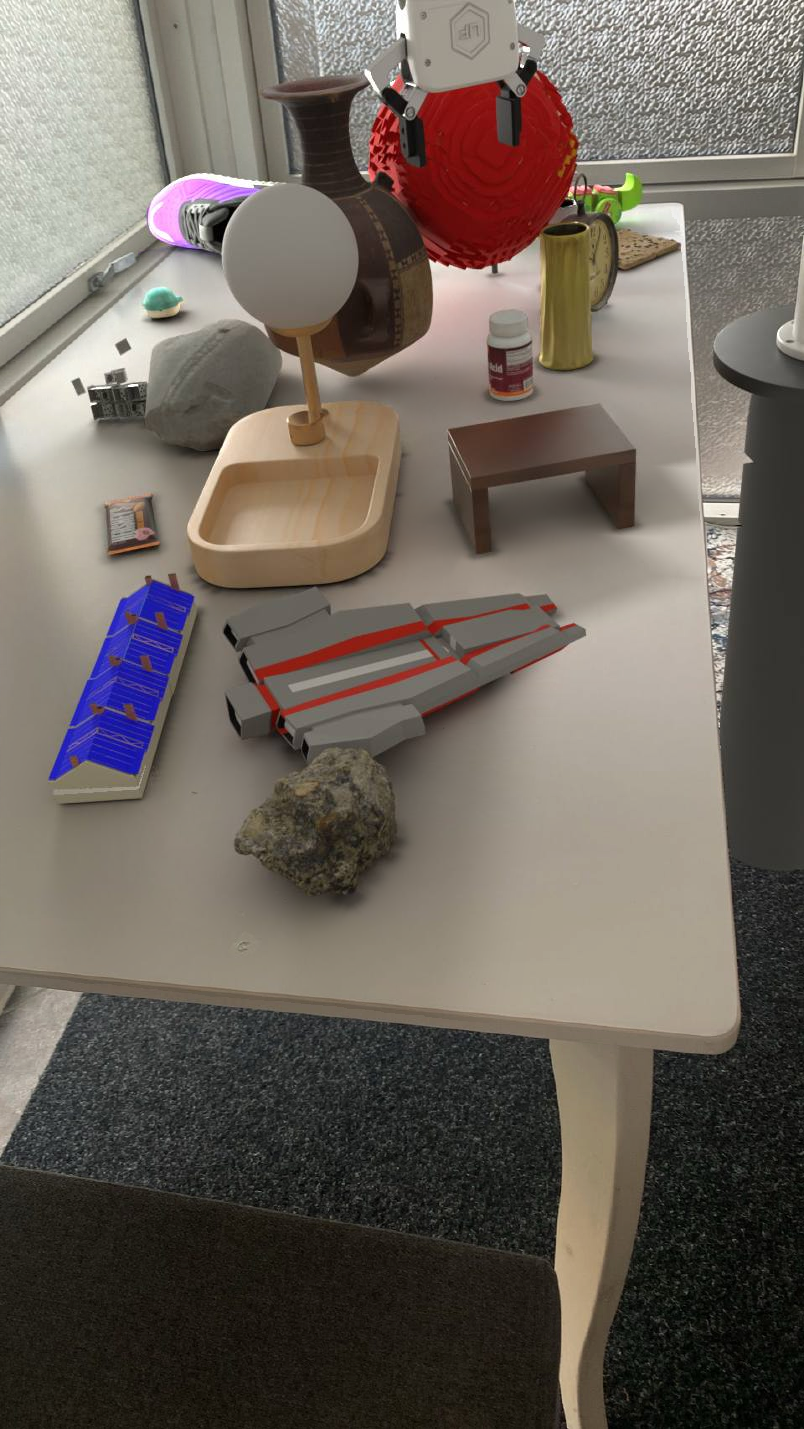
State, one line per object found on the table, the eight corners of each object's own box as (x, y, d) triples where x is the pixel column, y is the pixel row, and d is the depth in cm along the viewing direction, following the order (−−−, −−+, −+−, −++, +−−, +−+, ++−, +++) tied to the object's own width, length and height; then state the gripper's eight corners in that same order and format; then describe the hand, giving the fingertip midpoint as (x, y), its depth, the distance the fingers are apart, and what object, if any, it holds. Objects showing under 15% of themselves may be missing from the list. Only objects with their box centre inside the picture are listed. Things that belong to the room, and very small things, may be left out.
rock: (232, 913, 67) (274, 785, 74) (377, 928, 65) (407, 796, 72) (212, 858, 63) (259, 727, 69) (366, 873, 61) (399, 738, 68)
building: (145, 800, 75) (130, 755, 72) (56, 805, 75) (38, 761, 73) (199, 611, 93) (188, 570, 90) (127, 617, 93) (115, 576, 91)
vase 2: (569, 346, 130) (567, 217, 121) (605, 359, 126) (606, 226, 117) (528, 361, 128) (523, 231, 119) (563, 375, 123) (561, 241, 115)
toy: (580, 129, 141) (650, 103, 114) (482, 300, 148) (526, 313, 120) (424, 18, 135) (459, -38, 107) (330, 202, 142) (339, 193, 114)
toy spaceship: (504, 539, 91) (500, 592, 94) (188, 610, 82) (194, 666, 85) (643, 659, 77) (633, 717, 80) (281, 761, 68) (285, 822, 71)
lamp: (382, 582, 93) (340, 273, 77) (182, 593, 95) (101, 294, 80) (408, 416, 119) (380, 159, 103) (250, 428, 121) (199, 177, 105)
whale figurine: (141, 323, 153) (134, 295, 150) (147, 306, 158) (140, 278, 156) (183, 318, 153) (176, 290, 150) (188, 300, 158) (182, 273, 156)
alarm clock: (581, 334, 132) (580, 188, 122) (540, 329, 135) (536, 185, 125) (621, 303, 139) (623, 162, 129) (581, 299, 141) (581, 160, 131)
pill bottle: (482, 390, 123) (478, 314, 117) (522, 381, 124) (519, 304, 118) (500, 405, 119) (495, 327, 114) (540, 395, 120) (538, 317, 115)
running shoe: (151, 177, 179) (101, 203, 169) (313, 163, 168) (271, 189, 158) (169, 246, 185) (122, 275, 175) (327, 237, 174) (287, 267, 164)
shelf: (599, 476, 104) (599, 402, 100) (634, 526, 96) (636, 449, 92) (453, 501, 103) (446, 428, 99) (476, 554, 95) (470, 477, 91)
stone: (155, 302, 132) (283, 307, 133) (159, 355, 136) (283, 359, 137) (126, 406, 112) (276, 410, 114) (133, 463, 117) (277, 467, 118)
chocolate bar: (161, 548, 102) (159, 540, 102) (108, 559, 101) (105, 551, 101) (153, 495, 111) (151, 488, 110) (104, 505, 110) (102, 498, 109)
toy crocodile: (516, 240, 163) (514, 195, 159) (506, 230, 168) (505, 187, 165) (648, 222, 164) (649, 177, 160) (634, 213, 169) (635, 169, 166)
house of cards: (61, 343, 124) (101, 333, 130) (81, 422, 128) (119, 408, 134) (129, 337, 121) (166, 326, 127) (147, 418, 124) (182, 404, 131)
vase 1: (435, 407, 120) (407, 94, 101) (259, 420, 122) (200, 116, 104) (443, 331, 138) (420, 52, 119) (289, 343, 140) (243, 72, 121)
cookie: (625, 271, 149) (626, 263, 148) (558, 255, 156) (558, 248, 155) (683, 247, 154) (683, 239, 154) (615, 232, 162) (615, 225, 161)
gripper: (372, -52, 88) (395, 180, 99) (561, -83, 93) (564, 142, 103) (337, -54, 94) (362, 166, 104) (518, -83, 98) (524, 131, 109)
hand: (463, 154), depth 104 cm, fingers open, 9 cm apart
